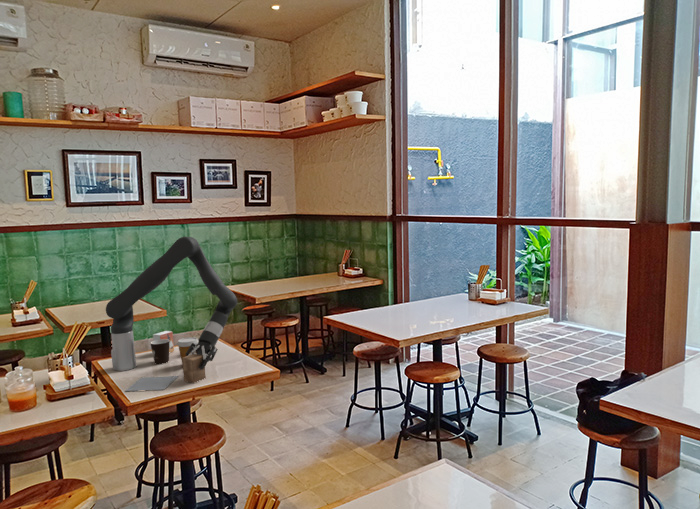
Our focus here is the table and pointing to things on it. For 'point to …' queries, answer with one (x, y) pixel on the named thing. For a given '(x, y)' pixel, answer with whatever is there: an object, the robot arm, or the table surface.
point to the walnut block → (193, 368)
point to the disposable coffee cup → (186, 345)
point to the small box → (165, 335)
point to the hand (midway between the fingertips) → (193, 367)
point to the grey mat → (152, 383)
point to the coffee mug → (160, 350)
